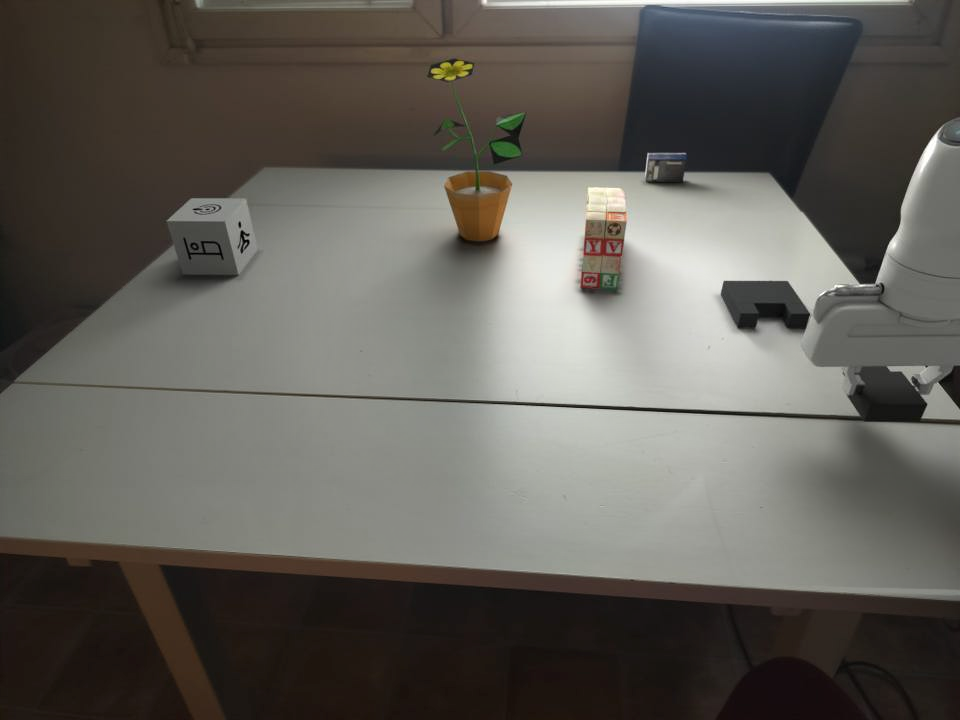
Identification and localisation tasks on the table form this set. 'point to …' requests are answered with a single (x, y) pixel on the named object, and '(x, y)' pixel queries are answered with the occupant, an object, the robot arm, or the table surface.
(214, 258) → the icon cube
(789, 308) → the base
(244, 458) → the table surface
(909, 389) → the black tabbed insert block
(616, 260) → the stack of blocks
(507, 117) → the potted plant
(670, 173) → the mini dv tape
